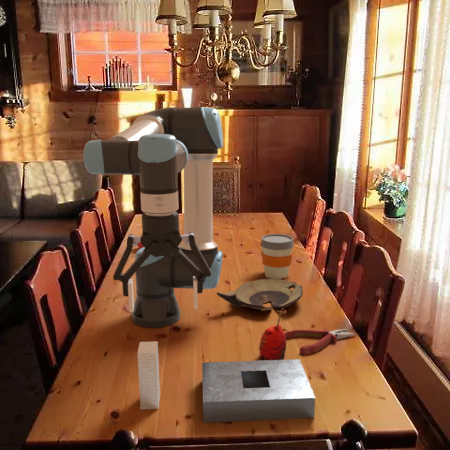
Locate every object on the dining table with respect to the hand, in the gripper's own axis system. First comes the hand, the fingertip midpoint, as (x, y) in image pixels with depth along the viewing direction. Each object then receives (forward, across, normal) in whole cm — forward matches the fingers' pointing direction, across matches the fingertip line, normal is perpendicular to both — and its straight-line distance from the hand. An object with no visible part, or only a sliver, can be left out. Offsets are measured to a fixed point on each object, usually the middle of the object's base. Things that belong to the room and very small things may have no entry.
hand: (164, 308), depth 105 cm
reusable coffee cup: (+24, +41, +80) cm, 93 cm away
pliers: (+25, +43, +25) cm, 55 cm away
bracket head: (+24, +20, 0) cm, 31 cm away
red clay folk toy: (+24, +28, +18) cm, 41 cm away
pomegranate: (+25, -11, +118) cm, 121 cm away
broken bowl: (+24, +30, +53) cm, 66 cm away
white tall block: (+24, -4, +1) cm, 24 cm away
